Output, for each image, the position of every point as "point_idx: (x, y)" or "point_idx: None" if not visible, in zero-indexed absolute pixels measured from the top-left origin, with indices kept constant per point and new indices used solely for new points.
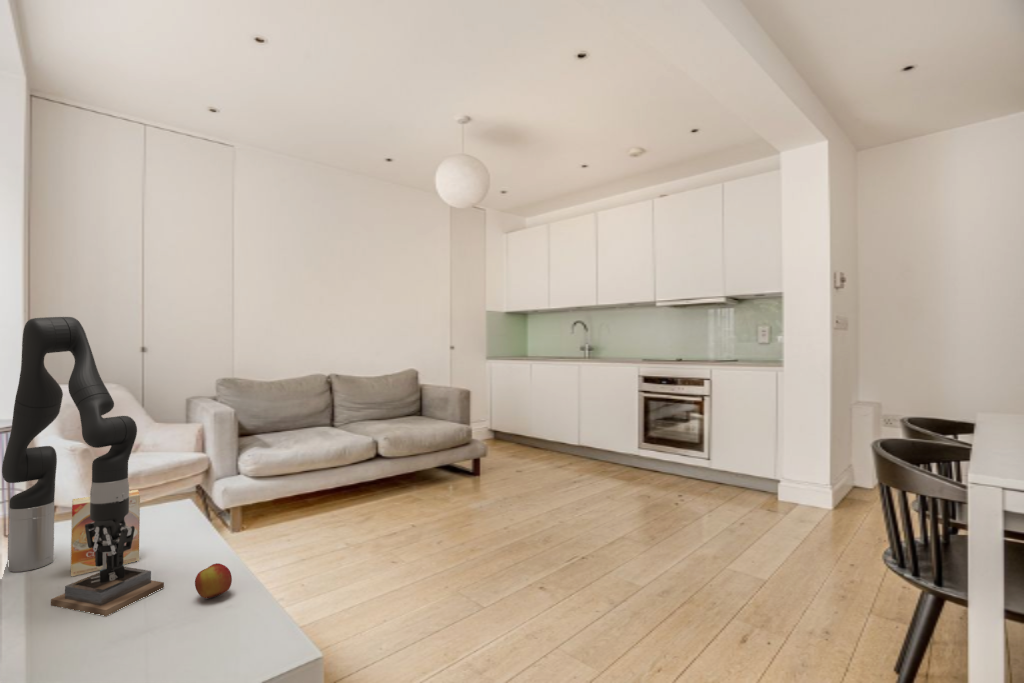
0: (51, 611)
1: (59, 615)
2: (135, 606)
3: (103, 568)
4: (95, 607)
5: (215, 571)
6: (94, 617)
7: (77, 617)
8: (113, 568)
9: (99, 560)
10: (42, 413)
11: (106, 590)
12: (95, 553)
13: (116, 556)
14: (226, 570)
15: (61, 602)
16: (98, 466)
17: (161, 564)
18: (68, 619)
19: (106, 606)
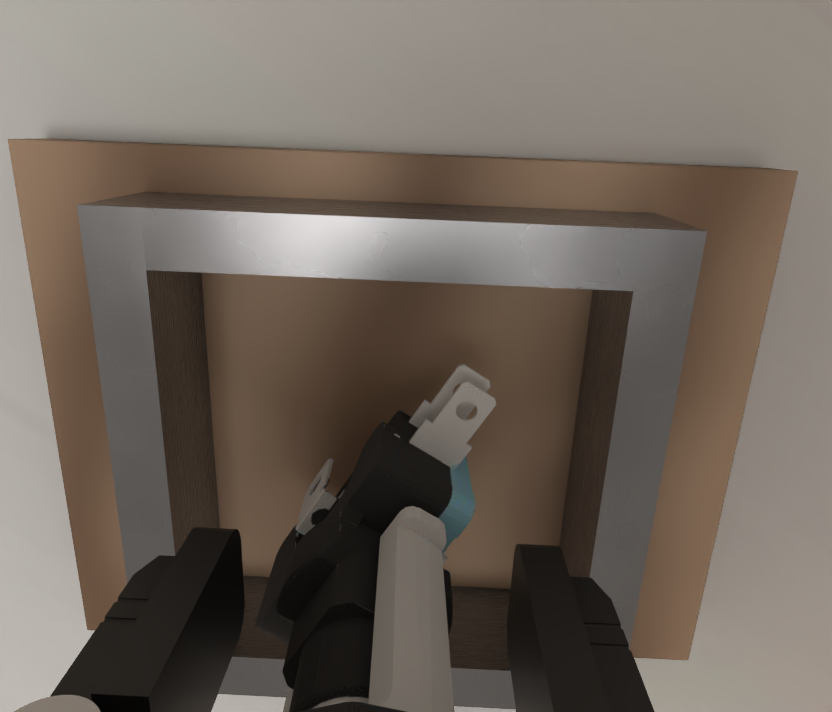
0: (642, 81)
1: (485, 42)
2: (7, 336)
3: (397, 525)
4: (163, 152)
5: None
6: (129, 101)
7: (278, 59)
8: (197, 530)
9: (525, 615)
10: None
11: (88, 266)
12: (644, 706)
13: (90, 684)
14: None
15: (636, 165)
16: None
17: None
18: (320, 6)
19: (81, 194)
